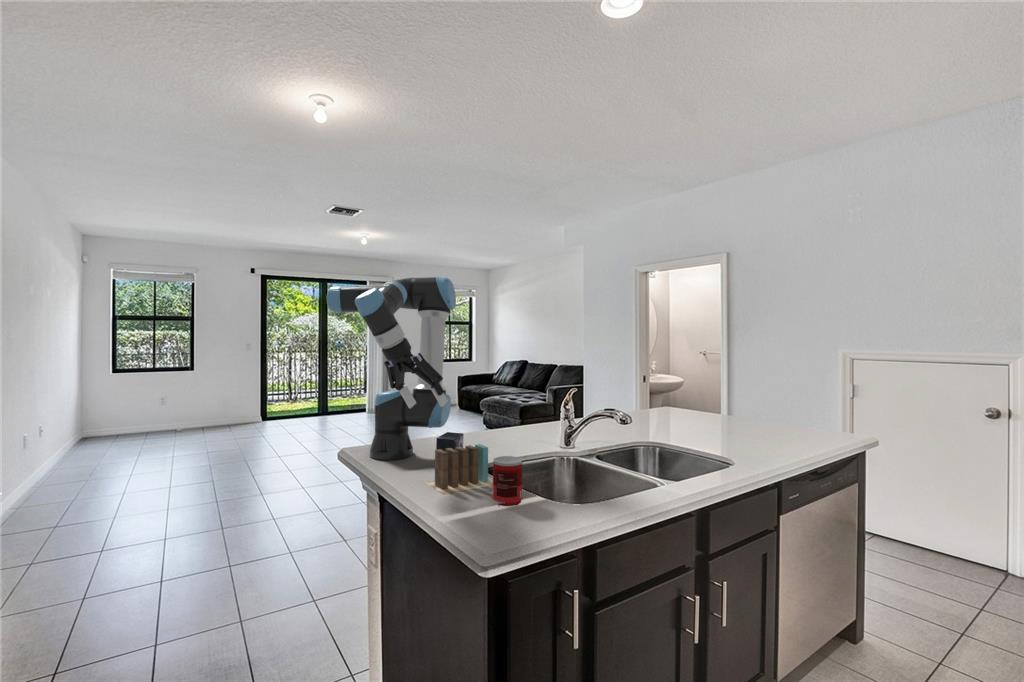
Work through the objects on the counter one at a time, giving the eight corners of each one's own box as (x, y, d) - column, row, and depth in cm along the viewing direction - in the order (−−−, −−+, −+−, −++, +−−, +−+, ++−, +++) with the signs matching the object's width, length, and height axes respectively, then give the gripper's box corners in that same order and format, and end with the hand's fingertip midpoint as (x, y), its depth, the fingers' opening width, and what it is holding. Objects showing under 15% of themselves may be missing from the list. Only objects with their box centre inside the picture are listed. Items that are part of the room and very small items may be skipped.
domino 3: (455, 481, 142) (455, 447, 142) (460, 480, 143) (460, 446, 142) (463, 486, 138) (463, 450, 137) (468, 485, 138) (468, 450, 138)
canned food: (511, 494, 134) (511, 454, 134) (528, 503, 127) (528, 461, 127) (487, 499, 130) (487, 458, 130) (502, 508, 123) (503, 465, 123)
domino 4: (465, 479, 144) (465, 445, 143) (469, 479, 144) (470, 445, 144) (473, 484, 139) (473, 449, 139) (478, 483, 140) (478, 448, 140)
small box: (454, 472, 155) (454, 439, 155) (434, 470, 157) (435, 438, 157) (464, 463, 166) (464, 432, 166) (445, 462, 167) (446, 431, 167)
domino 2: (445, 483, 140) (445, 448, 140) (450, 482, 141) (450, 447, 141) (453, 488, 136) (453, 452, 136) (458, 487, 137) (458, 451, 137)
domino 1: (434, 485, 138) (435, 449, 138) (440, 484, 139) (440, 449, 139) (442, 490, 134) (442, 453, 134) (447, 489, 135) (448, 452, 135)
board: (425, 486, 140) (425, 482, 140) (477, 477, 150) (477, 473, 150) (443, 498, 130) (443, 494, 130) (498, 487, 140) (498, 484, 140)
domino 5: (474, 478, 145) (474, 444, 145) (479, 477, 146) (479, 444, 146) (483, 482, 141) (483, 448, 141) (487, 481, 142) (488, 447, 142)
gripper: (357, 354, 140) (392, 413, 148) (414, 344, 125) (450, 411, 132) (375, 341, 146) (408, 399, 153) (432, 330, 130) (466, 395, 138)
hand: (428, 404), depth 143 cm, fingers open, 13 cm apart
